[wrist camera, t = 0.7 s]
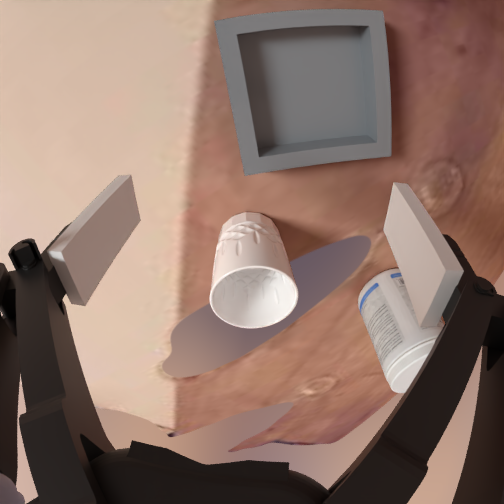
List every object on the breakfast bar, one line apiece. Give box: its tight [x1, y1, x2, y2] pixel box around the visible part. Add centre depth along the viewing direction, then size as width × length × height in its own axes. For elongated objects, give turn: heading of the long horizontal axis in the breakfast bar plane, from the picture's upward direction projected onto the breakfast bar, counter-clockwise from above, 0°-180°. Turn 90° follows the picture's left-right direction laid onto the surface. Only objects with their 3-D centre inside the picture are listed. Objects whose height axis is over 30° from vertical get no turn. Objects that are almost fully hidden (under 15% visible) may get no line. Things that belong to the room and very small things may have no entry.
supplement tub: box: [358, 268, 444, 393], centre depth 37 cm, size 10×10×15 cm
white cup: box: [210, 212, 298, 328], centre depth 32 cm, size 8×8×10 cm
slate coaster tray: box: [214, 9, 391, 176], centre depth 25 cm, size 14×14×4 cm
